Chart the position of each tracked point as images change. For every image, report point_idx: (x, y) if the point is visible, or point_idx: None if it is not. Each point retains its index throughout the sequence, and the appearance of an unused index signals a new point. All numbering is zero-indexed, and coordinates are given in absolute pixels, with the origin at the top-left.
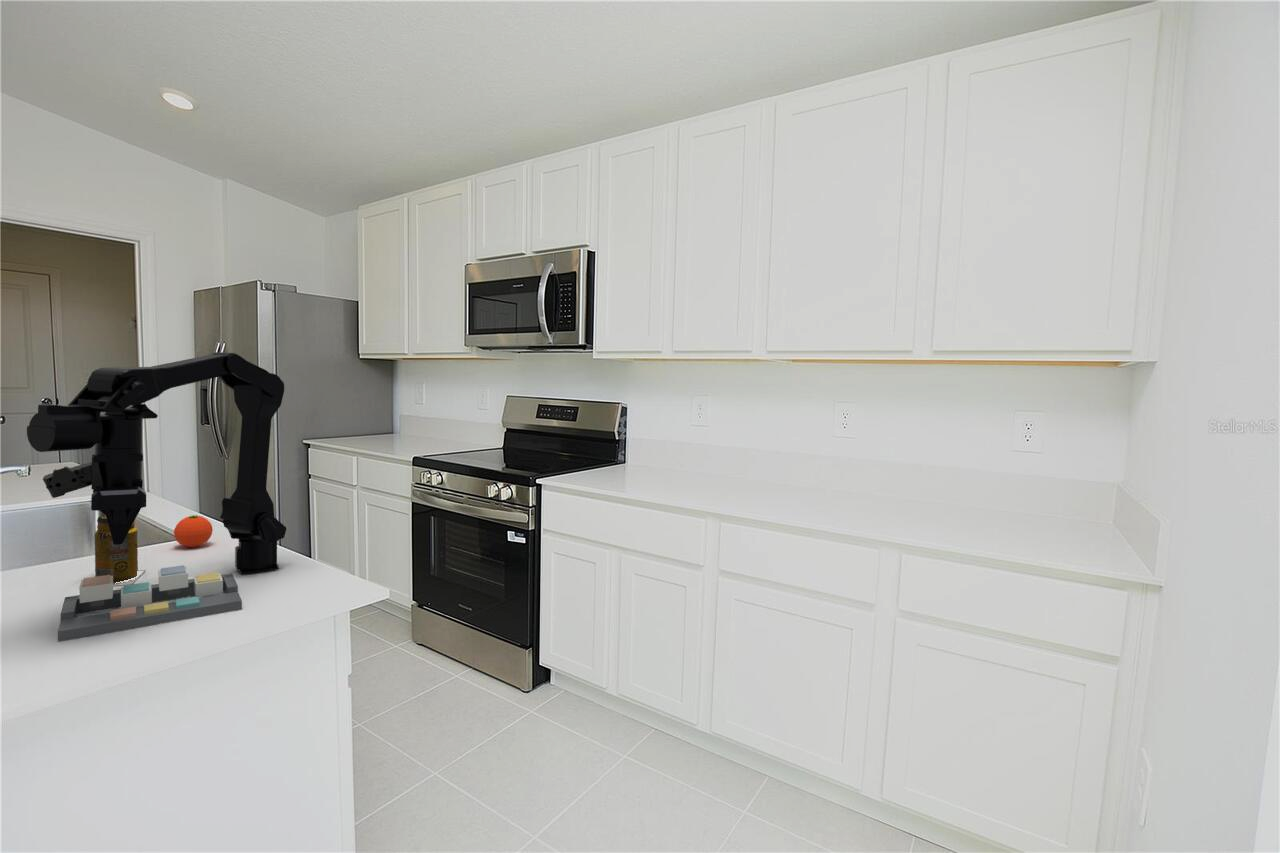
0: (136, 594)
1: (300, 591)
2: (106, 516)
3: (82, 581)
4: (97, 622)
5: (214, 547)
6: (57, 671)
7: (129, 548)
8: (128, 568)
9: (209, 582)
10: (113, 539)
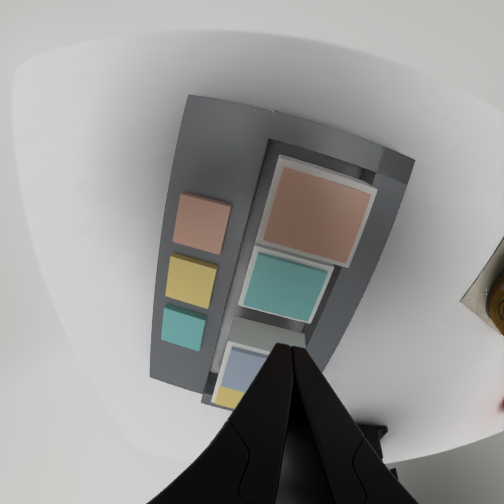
0: (246, 274)
1: (186, 428)
2: (165, 489)
3: (353, 186)
4: (189, 168)
5: (491, 412)
6: (62, 96)
7: None
8: (497, 317)
9: (215, 387)
10: (267, 360)
